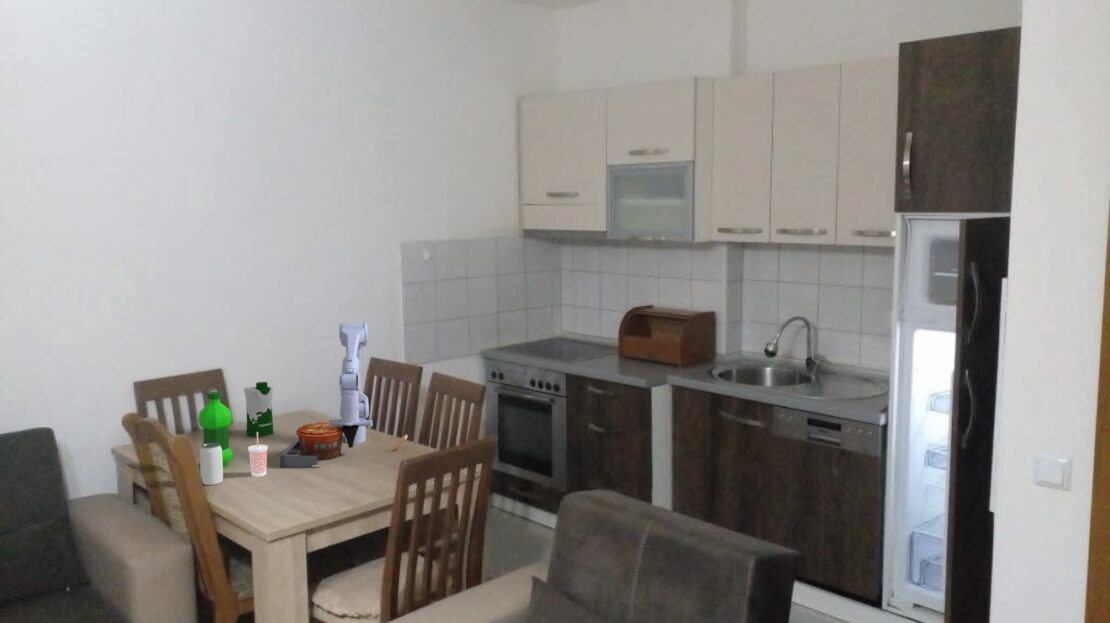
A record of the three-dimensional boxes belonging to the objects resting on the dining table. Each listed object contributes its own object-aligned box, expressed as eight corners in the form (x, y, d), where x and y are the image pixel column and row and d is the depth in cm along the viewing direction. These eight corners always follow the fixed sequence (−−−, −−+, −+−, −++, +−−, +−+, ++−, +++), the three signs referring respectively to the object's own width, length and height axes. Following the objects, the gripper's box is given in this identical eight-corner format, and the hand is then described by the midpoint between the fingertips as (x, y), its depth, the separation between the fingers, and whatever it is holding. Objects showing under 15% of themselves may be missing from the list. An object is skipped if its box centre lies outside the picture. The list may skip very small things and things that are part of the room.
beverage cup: (248, 472, 283) (246, 430, 281) (267, 470, 285) (266, 428, 284) (249, 478, 277) (247, 435, 276) (269, 476, 280) (268, 433, 278)
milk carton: (257, 438, 322) (255, 385, 320) (242, 434, 328) (240, 382, 325) (277, 433, 329) (275, 381, 327) (262, 429, 335) (260, 378, 332)
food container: (346, 462, 295) (345, 431, 293) (297, 466, 290) (296, 435, 288) (343, 449, 310) (343, 420, 308) (296, 453, 305) (295, 423, 304)
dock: (297, 448, 310) (297, 437, 310) (331, 448, 311) (331, 437, 310) (280, 467, 289) (280, 455, 288) (317, 467, 289) (316, 455, 288)
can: (215, 486, 269) (214, 448, 268) (196, 484, 271) (195, 447, 269) (227, 479, 276) (226, 443, 274) (209, 478, 277) (207, 441, 275)
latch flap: (405, 439, 305) (404, 437, 304) (388, 454, 305) (387, 451, 305) (407, 436, 310) (406, 434, 309) (391, 449, 310) (389, 447, 310)
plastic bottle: (205, 462, 293) (202, 389, 290) (237, 461, 294) (234, 389, 291) (196, 471, 283) (192, 396, 280) (229, 471, 284) (226, 396, 281)
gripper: (326, 410, 294) (327, 450, 295) (369, 410, 294) (370, 450, 296) (330, 405, 301) (331, 444, 302) (373, 406, 301) (373, 444, 303)
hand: (351, 446), depth 300 cm, fingers closed
